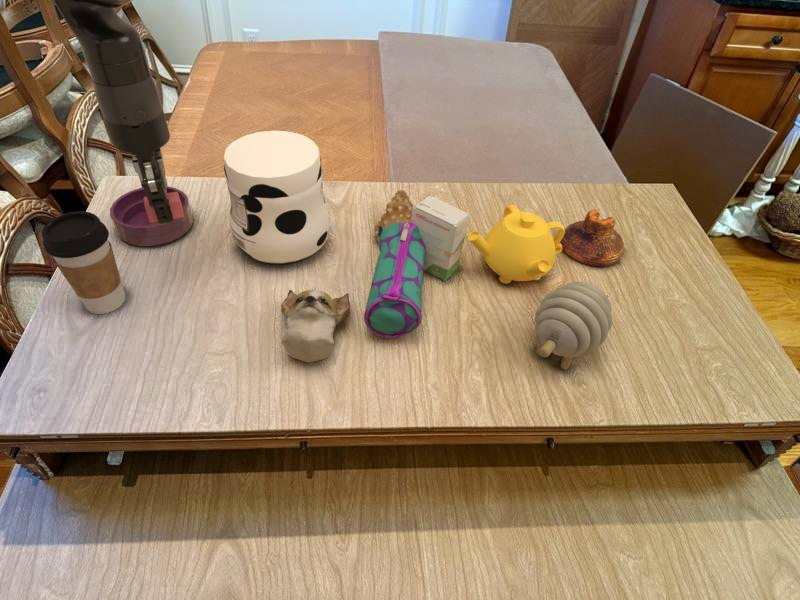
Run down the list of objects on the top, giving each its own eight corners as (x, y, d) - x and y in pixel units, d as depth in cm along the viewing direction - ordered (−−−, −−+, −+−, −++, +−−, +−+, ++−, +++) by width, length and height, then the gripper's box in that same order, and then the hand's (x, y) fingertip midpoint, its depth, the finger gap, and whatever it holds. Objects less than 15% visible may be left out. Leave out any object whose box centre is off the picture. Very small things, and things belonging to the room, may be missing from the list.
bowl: (119, 254, 94) (111, 234, 91) (116, 212, 102) (109, 192, 99) (198, 239, 98) (192, 219, 95) (189, 200, 106) (183, 180, 103)
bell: (546, 236, 104) (556, 204, 99) (596, 224, 108) (608, 193, 102) (583, 274, 96) (596, 242, 91) (636, 259, 100) (650, 227, 95)
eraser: (150, 223, 82) (144, 206, 80) (148, 213, 84) (143, 196, 82) (184, 217, 84) (179, 201, 82) (182, 207, 86) (177, 191, 84)
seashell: (369, 237, 106) (376, 186, 103) (409, 242, 108) (416, 191, 105) (375, 246, 97) (383, 190, 95) (419, 251, 99) (427, 196, 96)
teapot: (459, 273, 95) (468, 222, 87) (493, 235, 103) (504, 185, 95) (535, 308, 89) (552, 256, 82) (564, 265, 98) (582, 214, 90)
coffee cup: (77, 326, 82) (35, 248, 71) (75, 290, 87) (36, 213, 76) (136, 311, 84) (104, 235, 74) (131, 278, 90) (101, 202, 79)
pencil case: (376, 254, 97) (379, 210, 90) (425, 260, 97) (431, 216, 90) (361, 340, 82) (362, 295, 75) (419, 347, 82) (425, 302, 75)
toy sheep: (612, 331, 86) (636, 280, 79) (572, 401, 76) (596, 350, 68) (551, 303, 90) (568, 251, 83) (505, 366, 80) (521, 314, 72)
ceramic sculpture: (262, 328, 71) (283, 261, 82) (268, 372, 77) (287, 303, 88) (343, 333, 71) (352, 265, 83) (343, 376, 77) (352, 307, 88)
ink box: (404, 261, 96) (410, 206, 88) (420, 247, 99) (427, 193, 91) (445, 282, 93) (455, 227, 85) (460, 267, 96) (471, 212, 88)
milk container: (341, 221, 104) (338, 134, 91) (315, 279, 92) (308, 189, 79) (255, 208, 106) (241, 121, 93) (218, 264, 93) (196, 173, 81)
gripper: (100, 90, 75) (137, 195, 87) (102, 137, 66) (142, 247, 78) (157, 85, 78) (185, 187, 90) (166, 129, 69) (196, 237, 81)
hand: (165, 215), depth 84 cm, fingers closed on eraser, 2 cm apart
